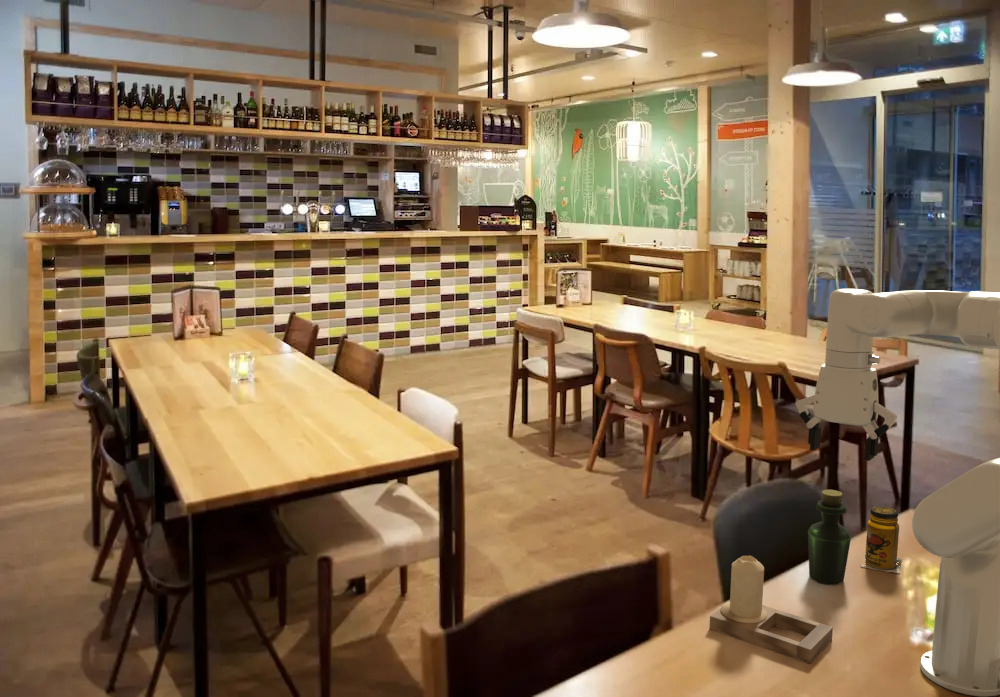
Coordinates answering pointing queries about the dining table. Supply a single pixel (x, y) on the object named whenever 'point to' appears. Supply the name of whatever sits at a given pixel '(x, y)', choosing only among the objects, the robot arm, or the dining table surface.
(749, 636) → the wooden holder tray
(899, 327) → the robot arm
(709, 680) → the dining table surface
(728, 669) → the dining table surface
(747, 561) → the candle
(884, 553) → the condiment
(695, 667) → the dining table surface
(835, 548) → the potion bottle
